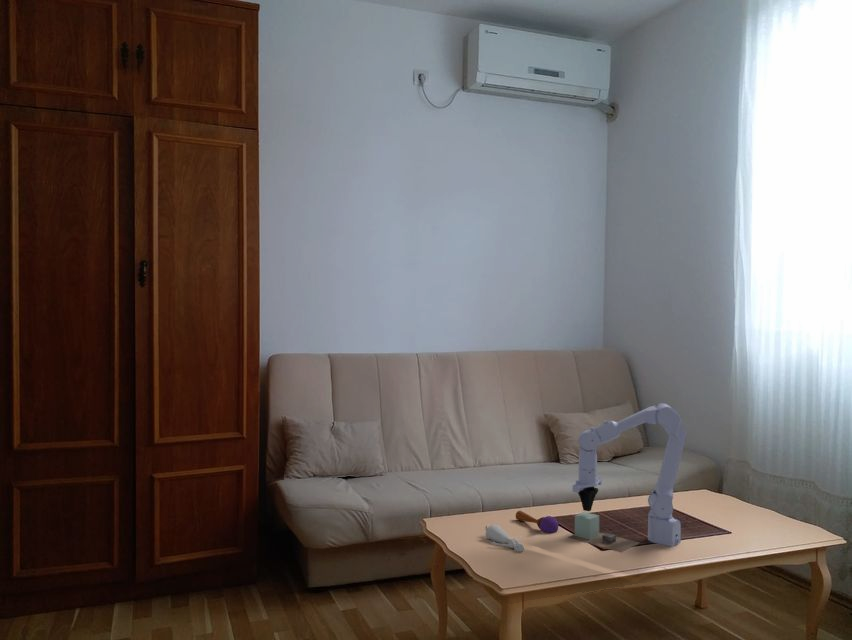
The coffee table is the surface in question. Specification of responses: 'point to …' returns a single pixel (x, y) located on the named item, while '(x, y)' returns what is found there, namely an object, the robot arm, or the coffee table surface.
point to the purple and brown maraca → (540, 522)
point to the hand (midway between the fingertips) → (587, 510)
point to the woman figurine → (502, 538)
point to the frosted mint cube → (587, 525)
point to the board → (613, 546)
